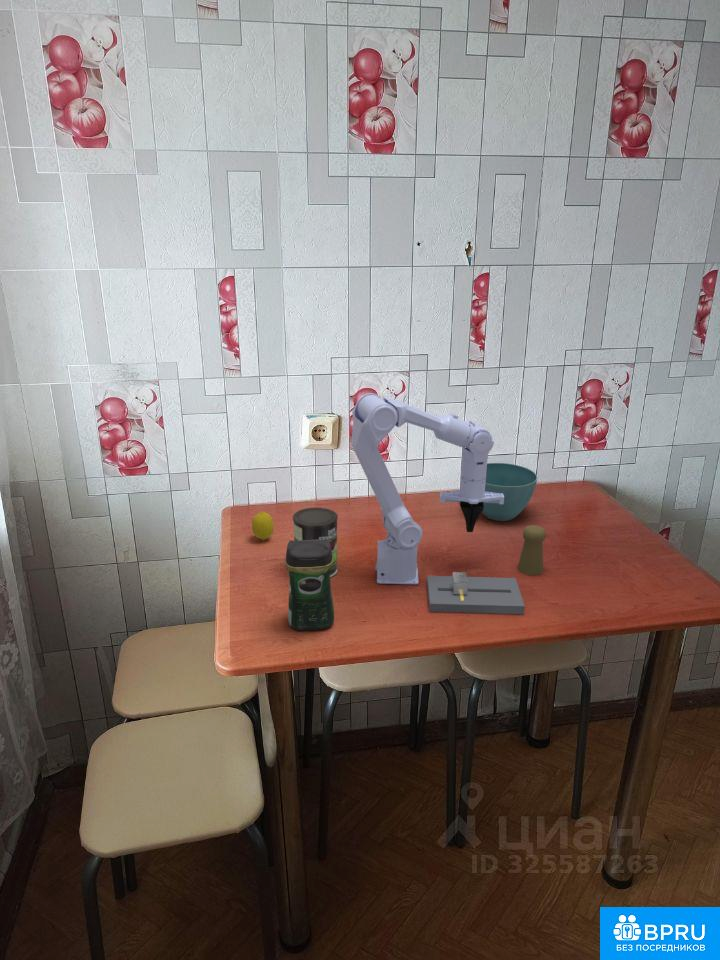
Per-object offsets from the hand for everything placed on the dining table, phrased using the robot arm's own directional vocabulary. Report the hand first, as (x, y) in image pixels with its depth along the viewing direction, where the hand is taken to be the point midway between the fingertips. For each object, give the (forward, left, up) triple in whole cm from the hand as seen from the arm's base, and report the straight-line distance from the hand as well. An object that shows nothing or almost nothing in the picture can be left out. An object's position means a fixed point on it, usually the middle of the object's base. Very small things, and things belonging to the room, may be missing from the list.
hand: (469, 530), depth 170 cm
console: (0, -15, -9) cm, 18 cm away
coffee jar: (-35, -26, -10) cm, 45 cm away
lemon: (-51, +11, -10) cm, 53 cm away
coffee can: (-36, -4, -10) cm, 37 cm away
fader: (-3, -15, -7) cm, 17 cm away
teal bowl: (+12, +30, -10) cm, 34 cm away
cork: (+15, -1, -10) cm, 18 cm away
